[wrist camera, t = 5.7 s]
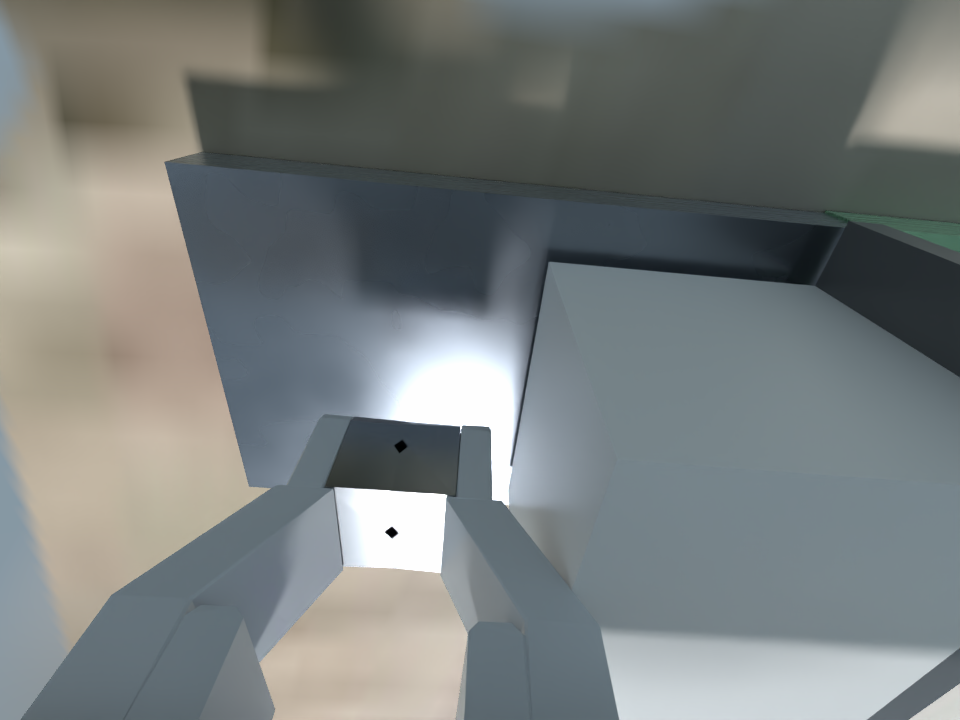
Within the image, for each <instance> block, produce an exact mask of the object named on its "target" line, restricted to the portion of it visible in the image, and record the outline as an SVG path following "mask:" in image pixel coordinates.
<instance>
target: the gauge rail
mask: <svg viewBox="0 0 960 720" xmlns="http://www.w3.org/2000/svg"><path fill="white" fill-rule="evenodd" d="M165 166H166V169H167V173H168V177H169V181H170V185H171V189H172V192H173V196H174V200H175V204H176V208H177V212H178V215H179V219H180V223H181V227H182V231H183V235H184V238H185V242H186V246H187V250H188V254H189V258H190V261H191V265H192V269H193V273H194V277H195V281H196V284H197V288H198V292H199V296H200V300H201V304H202V308H203V311H204V315H205V319H206V323H207V327H208V331H209V334H210V338H211V342H212V346H213V350H214V354H215V357H216V361H217V365H218V369H219V373H220V377H221V380H222V384H223V388H224V392H225V396H226V400H227V403H228V407H229V411H230V415H231V419H232V423H233V426H234V430H235V434H236V438H237V442H238V446H239V449H240V453H241V457H242V461H243V465H244V469H245V472H246V476H247V480H248V484H249V487H264V488H273V487H274V486H276V485H287V483H288V481H289V479H290V477H291V475H292V473H293V471H294V469H295V467H296V465H297V463H298V461H299V459H300V457H301V455H302V452H303V450H304V448H305V446H306V444H307V442H308V440H309V438H310V436H311V434H312V432H313V430H314V428H315V426H316V424H317V422H318V420H319V419H320V418H321V417H322V416H323V415H325V414H330V415H340V416H350V417H354V416H355V417H366V418H376V419H386V420H396V421H406V422H418V423H432V424H447V425H461V427H462V425H472V426H489V427H490V429H491V434H492V499H493V500H501V501H502V502H503V503H504V504H509V498H508V487H509V482H510V476H511V471H512V465H513V459H514V454H515V448H516V442H517V437H518V431H519V426H520V420H521V414H522V409H523V403H524V398H525V392H526V386H527V381H528V375H529V370H530V364H531V358H532V353H533V347H534V342H535V336H536V330H537V325H538V319H539V313H540V308H541V302H542V297H543V291H544V285H545V280H546V274H547V269H548V263H549V262H558V263H569V264H580V265H591V266H602V267H613V268H624V269H635V270H646V271H657V272H668V273H679V274H690V275H701V276H712V277H723V278H734V279H745V280H756V281H767V282H778V283H789V284H800V285H811V286H815V285H816V283H817V281H818V279H819V277H820V275H821V273H822V272H823V270H824V268H825V266H826V264H827V262H828V260H829V258H830V256H831V254H832V252H833V250H834V248H835V247H836V245H837V243H838V241H839V239H840V237H841V235H842V233H843V231H844V229H845V227H846V225H847V223H848V222H849V221H855V222H866V223H876V224H883V225H886V226H889V227H892V228H894V229H897V230H900V231H902V232H905V233H908V234H910V235H913V236H916V237H919V238H921V239H924V240H927V241H929V242H932V243H935V244H938V245H940V246H943V247H946V248H948V249H951V250H954V251H957V252H959V253H960V224H959V223H948V222H938V221H928V220H918V219H908V218H897V217H887V216H877V215H867V214H857V213H846V212H836V211H825V213H820V212H810V211H799V210H789V209H779V208H769V207H758V206H748V205H738V204H728V203H718V202H707V201H697V200H687V199H677V198H667V197H656V196H646V195H636V194H626V193H615V192H605V191H595V190H585V189H575V188H564V187H554V186H544V185H534V184H523V183H513V182H503V181H493V180H483V179H472V178H462V177H452V176H442V175H431V174H421V173H411V172H401V171H391V170H380V169H370V168H360V167H350V166H339V165H329V164H319V163H309V162H299V161H288V160H278V159H268V158H258V157H247V156H237V155H227V154H217V153H207V152H200V153H196V154H193V155H189V156H185V157H181V158H177V159H174V160H170V161H166V162H165ZM460 433H461V432H460Z"/></svg>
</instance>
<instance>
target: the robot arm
mask: <svg viewBox="0 0 960 720" xmlns="http://www.w3.org/2000/svg"><path fill="white" fill-rule="evenodd" d="M460 432H461V433H460ZM343 566H349V567H377V568H397V569H408V570H418V571H429V572H440V573H441V574H440V575H441V577H442V580H443V582H444V584H445V586H446V588H447V590H448V592H449V594H450V597H451V599H452V601H453V603H454V605H455V607H456V609H457V611H458V614H459V616H460V618H461V620H462V622H463V624H464V626H465V628H466V631H467V633H468V638H467V645H466V652H465V659H464V665H463V672H462V679H461V686H460V693H459V700H458V706H457V713H456V720H619V716H618V711H617V706H616V702H615V697H614V692H613V687H612V682H611V677H610V673H609V668H608V663H607V658H606V653H605V648H604V643H603V639H602V634H601V629H600V626H599V624H598V623H597V622H596V621H595V619H594V618H593V617H592V615H591V614H590V613H589V612H588V610H587V609H586V608H585V606H584V605H583V604H582V603H581V601H580V600H579V599H578V598H577V596H576V595H575V594H574V592H573V591H572V590H571V589H570V587H569V586H568V585H567V583H566V582H565V581H564V580H563V578H562V577H561V576H560V575H559V573H558V572H557V571H556V569H555V568H554V567H553V566H552V564H551V563H550V562H549V560H548V559H547V558H546V557H545V555H544V554H543V553H542V552H541V550H540V549H539V548H538V546H537V545H536V544H535V543H534V541H533V540H532V539H531V537H530V536H529V535H528V534H527V532H526V531H525V530H524V528H523V527H522V526H521V525H520V523H519V522H518V521H517V520H516V518H515V517H514V516H513V514H512V513H511V512H510V511H509V509H508V508H507V507H506V505H505V504H504V503H503V502H502V501H501V500H493V499H492V434H491V429H490V427H489V426H472V425H462V427H461V425H447V424H432V423H418V422H406V421H396V420H386V419H376V418H366V417H355V416H354V417H350V416H340V415H330V414H325V415H323V416H322V417H321V418H320V419H319V420H318V422H317V424H316V426H315V428H314V430H313V432H312V434H311V436H310V438H309V440H308V442H307V444H306V446H305V448H304V450H303V452H302V455H301V457H300V459H299V461H298V463H297V465H296V467H295V469H294V471H293V473H292V475H291V477H290V479H289V481H288V483H287V485H276V486H274V487H273V488H271V489H270V490H268V491H267V492H265V493H264V494H262V495H261V496H259V497H258V498H256V499H255V500H253V501H252V502H250V503H249V504H247V505H246V506H244V507H243V508H241V509H240V510H238V511H237V512H235V513H234V514H232V515H231V516H229V517H228V518H226V519H225V520H223V521H222V522H220V523H219V524H217V525H216V526H214V527H213V528H211V529H210V530H208V531H207V532H205V533H204V534H202V535H201V536H199V537H198V538H196V539H195V540H193V541H192V542H190V543H189V544H187V545H186V546H184V547H183V548H181V549H180V550H178V551H177V552H175V553H174V554H172V555H171V556H169V557H168V558H166V559H165V560H163V561H162V562H160V563H159V564H157V565H156V566H154V567H153V568H151V569H150V570H148V571H147V572H145V573H144V574H142V575H141V576H139V577H138V578H136V579H135V580H133V581H132V582H130V583H129V584H127V585H126V586H124V587H123V588H121V589H120V590H118V591H117V592H115V593H114V594H112V595H111V596H110V598H109V599H108V601H107V602H106V603H105V605H104V606H103V607H102V609H101V610H100V612H99V613H98V614H97V616H96V617H95V618H94V620H93V621H92V622H91V624H90V625H89V627H88V628H87V629H86V631H85V632H84V633H83V635H82V636H81V638H80V639H79V640H78V642H77V643H76V644H75V646H74V647H73V649H72V650H71V651H70V653H69V654H68V655H67V657H66V658H65V660H64V661H63V662H62V664H61V665H60V666H59V668H58V669H57V670H56V672H55V673H54V675H53V676H52V677H51V679H50V680H49V682H48V683H47V684H46V686H45V687H44V688H43V690H42V691H41V693H40V694H39V695H38V697H37V698H36V699H35V701H34V702H33V704H32V705H31V706H30V708H29V709H28V710H27V712H26V713H25V714H24V716H23V717H22V719H21V720H272V718H273V715H274V712H275V708H274V705H273V702H272V699H271V696H270V693H269V690H268V687H267V684H266V682H265V679H264V676H263V673H262V670H261V667H260V664H259V662H260V661H261V660H262V659H263V658H264V657H265V656H266V655H267V653H268V652H269V651H270V650H271V649H272V648H273V647H274V646H275V645H276V643H277V642H278V641H279V640H280V639H281V638H282V637H283V636H284V635H285V633H286V632H287V631H288V630H289V629H290V628H291V627H292V626H293V625H294V623H295V622H296V621H297V620H298V619H299V618H300V617H301V616H302V615H303V614H304V612H305V611H306V610H307V609H308V608H309V607H310V606H311V605H312V604H313V602H314V601H315V600H316V599H317V598H318V597H319V596H320V595H321V594H322V592H323V591H324V590H325V589H326V588H327V587H328V586H329V585H330V584H331V582H332V581H333V580H334V579H335V578H336V577H337V576H338V575H339V574H340V573H341V571H342V570H343Z"/></svg>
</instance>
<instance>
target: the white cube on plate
mask: <svg viewBox="0 0 960 720" xmlns="http://www.w3.org/2000/svg"><path fill="white" fill-rule="evenodd" d="M508 498H509V511H510V512H511V513H512V514H513V516H514V517H515V518H516V520H517V521H518V522H519V523H520V525H521V526H522V527H523V528H524V530H525V531H526V532H527V534H528V535H529V536H530V537H531V539H532V540H533V541H534V543H535V544H536V545H537V546H538V548H539V549H540V550H541V552H542V553H543V554H544V555H545V557H546V558H547V559H548V560H549V562H550V563H551V564H552V566H553V567H554V568H555V569H556V571H557V572H558V573H559V575H560V576H561V577H562V578H563V580H564V581H565V582H566V583H567V585H568V586H569V587H570V589H571V590H572V591H573V592H574V594H575V595H576V596H577V598H578V599H579V600H580V601H581V603H582V604H583V605H584V606H585V608H586V609H587V610H588V612H589V613H590V614H591V615H592V617H593V618H594V619H595V621H596V622H597V623H598V624H599V626H600V629H601V634H602V639H603V643H604V648H605V653H606V658H607V663H608V668H609V673H610V677H611V682H612V687H613V692H614V697H615V702H616V706H617V711H618V716H619V720H909V719H910V718H911V717H913V716H914V715H916V714H917V713H919V712H920V711H921V710H923V709H924V708H926V707H927V706H928V705H930V704H931V703H933V702H934V701H935V700H937V699H938V698H940V697H941V696H943V695H944V694H945V693H947V692H948V691H950V690H951V689H952V688H954V687H955V686H957V685H958V684H959V683H960V253H959V252H957V251H954V250H951V249H948V248H946V247H943V246H940V245H938V244H935V243H932V242H929V241H927V240H924V239H921V238H919V237H916V236H913V235H910V234H908V233H905V232H902V231H900V230H897V229H894V228H892V227H889V226H886V225H883V224H876V223H866V222H855V221H849V222H848V223H847V225H846V227H845V229H844V231H843V233H842V235H841V237H840V239H839V241H838V243H837V245H836V247H835V248H834V250H833V252H832V254H831V256H830V258H829V260H828V262H827V264H826V266H825V268H824V270H823V272H822V273H821V275H820V277H819V279H818V281H817V283H816V285H815V286H811V285H800V284H789V283H778V282H767V281H756V280H745V279H734V278H723V277H712V276H701V275H690V274H679V273H668V272H657V271H646V270H635V269H624V268H613V267H602V266H591V265H580V264H569V263H558V262H549V263H548V269H547V274H546V280H545V285H544V291H543V297H542V302H541V308H540V313H539V319H538V325H537V330H536V336H535V342H534V347H533V353H532V358H531V364H530V370H529V375H528V381H527V386H526V392H525V398H524V403H523V409H522V414H521V420H520V426H519V431H518V437H517V442H516V448H515V454H514V459H513V465H512V471H511V476H510V482H509V487H508Z"/></svg>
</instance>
